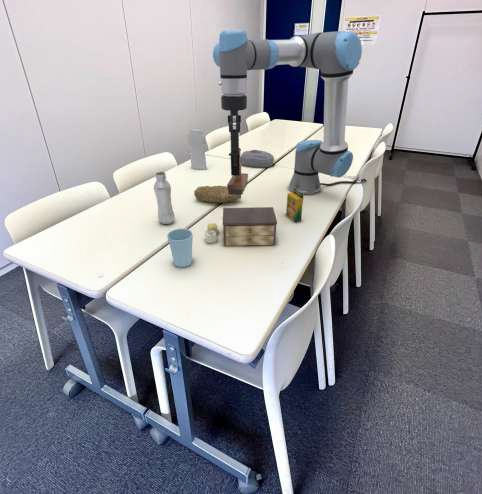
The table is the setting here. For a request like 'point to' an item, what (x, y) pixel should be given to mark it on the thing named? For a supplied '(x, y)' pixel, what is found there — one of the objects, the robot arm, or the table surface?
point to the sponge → (215, 194)
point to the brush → (238, 181)
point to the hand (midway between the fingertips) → (235, 173)
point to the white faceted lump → (210, 236)
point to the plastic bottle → (163, 199)
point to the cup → (181, 246)
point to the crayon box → (294, 205)
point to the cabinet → (249, 226)
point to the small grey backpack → (257, 158)
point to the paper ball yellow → (212, 227)
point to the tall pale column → (197, 149)
